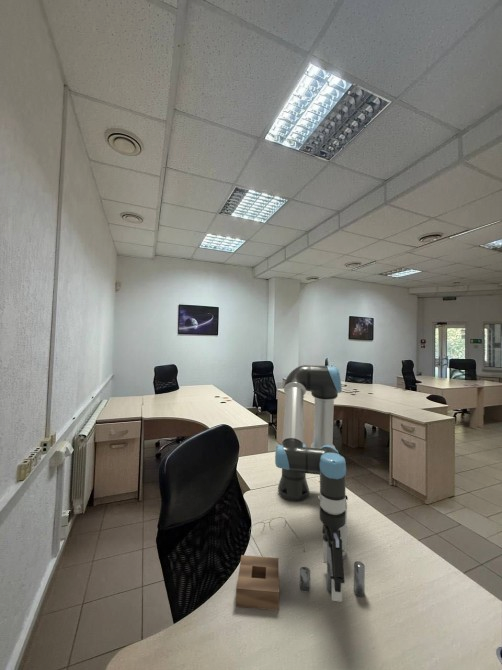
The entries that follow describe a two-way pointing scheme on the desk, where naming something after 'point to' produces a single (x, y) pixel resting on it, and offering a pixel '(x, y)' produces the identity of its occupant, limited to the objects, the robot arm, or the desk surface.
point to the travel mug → (344, 534)
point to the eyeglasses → (272, 529)
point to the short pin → (305, 579)
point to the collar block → (258, 583)
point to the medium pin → (359, 578)
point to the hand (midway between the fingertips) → (331, 579)
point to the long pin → (329, 570)
